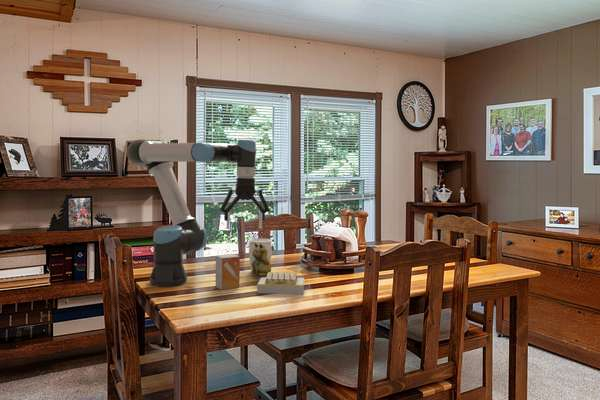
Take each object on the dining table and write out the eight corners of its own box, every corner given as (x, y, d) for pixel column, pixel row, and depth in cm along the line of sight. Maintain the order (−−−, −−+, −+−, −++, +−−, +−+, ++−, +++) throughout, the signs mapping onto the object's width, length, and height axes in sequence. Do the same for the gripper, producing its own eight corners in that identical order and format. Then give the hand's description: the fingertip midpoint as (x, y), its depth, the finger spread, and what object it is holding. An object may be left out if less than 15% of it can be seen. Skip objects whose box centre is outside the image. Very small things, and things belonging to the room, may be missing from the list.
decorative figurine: (248, 275, 223) (248, 242, 222) (263, 273, 229) (263, 241, 228) (260, 280, 216) (261, 245, 215) (276, 277, 221) (276, 243, 220)
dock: (257, 293, 194) (257, 284, 194) (260, 284, 208) (261, 275, 208) (303, 294, 194) (303, 285, 194) (304, 285, 208) (304, 276, 208)
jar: (245, 273, 229) (245, 240, 228) (252, 268, 239) (253, 237, 238) (267, 274, 226) (267, 242, 225) (274, 269, 236) (274, 238, 235)
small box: (221, 290, 198) (221, 258, 197) (215, 286, 203) (215, 255, 202) (240, 287, 202) (240, 256, 201) (233, 284, 208) (233, 253, 207)
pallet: (265, 285, 195) (265, 278, 195) (267, 277, 207) (268, 272, 207) (295, 285, 195) (295, 279, 195) (296, 278, 207) (296, 272, 207)
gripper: (216, 177, 197) (215, 230, 199) (277, 178, 205) (275, 229, 207) (214, 176, 204) (212, 227, 206) (272, 177, 212) (271, 226, 214)
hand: (244, 228), depth 207 cm, fingers open, 13 cm apart
